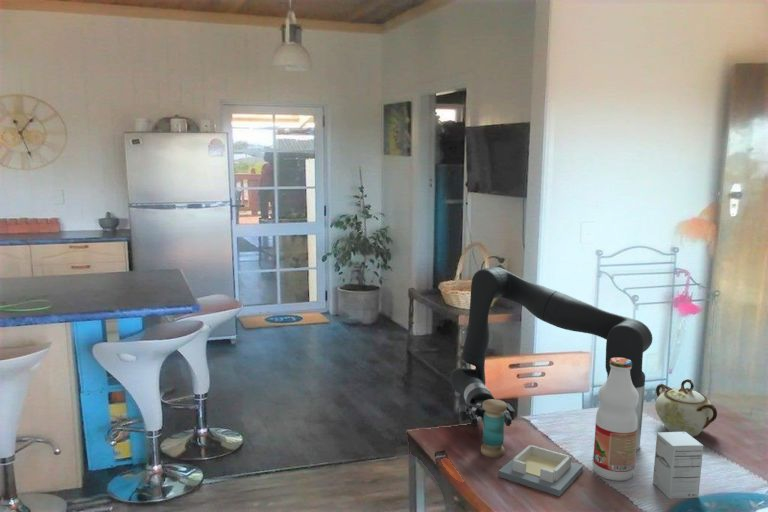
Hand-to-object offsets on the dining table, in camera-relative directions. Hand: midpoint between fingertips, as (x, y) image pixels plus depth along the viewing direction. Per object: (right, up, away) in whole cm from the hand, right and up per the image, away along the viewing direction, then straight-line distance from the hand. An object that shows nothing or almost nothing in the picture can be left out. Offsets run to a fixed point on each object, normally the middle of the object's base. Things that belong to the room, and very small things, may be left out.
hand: (492, 422), depth 166 cm
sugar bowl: (+56, -6, +15) cm, 58 cm away
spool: (0, -7, -1) cm, 7 cm away
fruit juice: (+27, -10, -10) cm, 31 cm away
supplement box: (+39, -11, -19) cm, 44 cm away
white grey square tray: (+10, -9, -12) cm, 18 cm away
